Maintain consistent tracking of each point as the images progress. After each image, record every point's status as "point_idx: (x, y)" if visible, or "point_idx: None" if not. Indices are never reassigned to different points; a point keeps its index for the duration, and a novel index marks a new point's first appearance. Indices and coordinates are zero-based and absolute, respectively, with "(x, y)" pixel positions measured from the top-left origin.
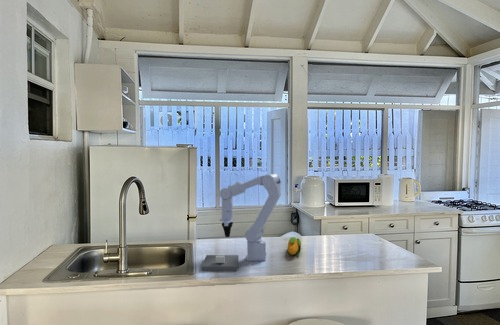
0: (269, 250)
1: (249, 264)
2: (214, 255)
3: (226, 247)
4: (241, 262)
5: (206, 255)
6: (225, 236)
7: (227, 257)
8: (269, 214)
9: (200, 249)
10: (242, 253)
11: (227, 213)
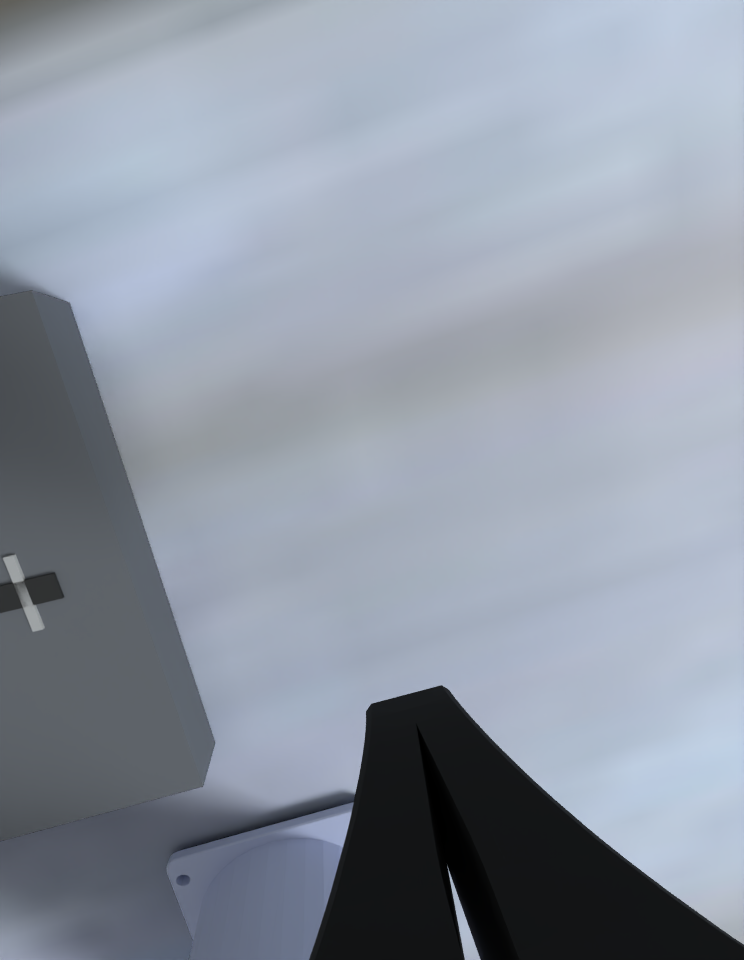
0: None
1: (59, 912)
2: (61, 445)
3: (682, 434)
4: None
5: (11, 297)
6: (366, 720)
7: (35, 680)
8: None
9: (541, 10)
10: None
11: None
